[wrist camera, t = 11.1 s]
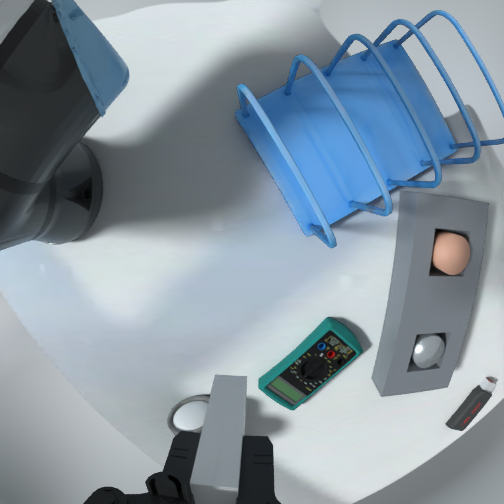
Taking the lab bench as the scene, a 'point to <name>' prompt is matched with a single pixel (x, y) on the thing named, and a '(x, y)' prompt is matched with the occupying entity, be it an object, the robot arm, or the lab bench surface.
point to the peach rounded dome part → (450, 252)
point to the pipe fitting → (188, 414)
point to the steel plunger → (427, 350)
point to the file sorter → (355, 129)
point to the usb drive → (471, 405)
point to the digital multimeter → (311, 364)
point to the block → (428, 292)
